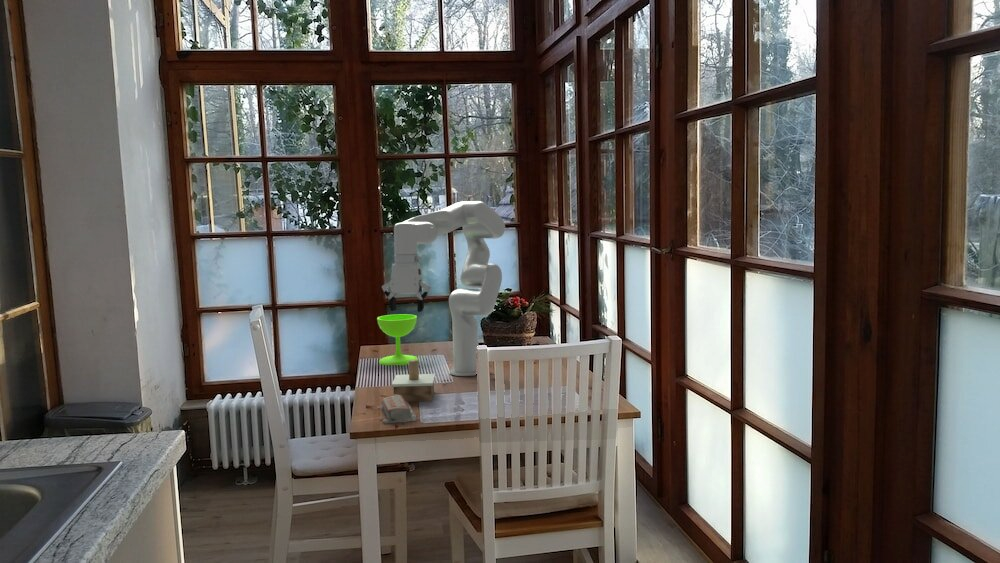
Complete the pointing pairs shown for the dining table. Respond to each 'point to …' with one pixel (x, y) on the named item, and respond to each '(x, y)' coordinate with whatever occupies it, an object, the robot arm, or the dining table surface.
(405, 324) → the wineglass
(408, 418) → the packaged product
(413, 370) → the lid
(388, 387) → the dining table surface
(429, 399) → the walnut box
